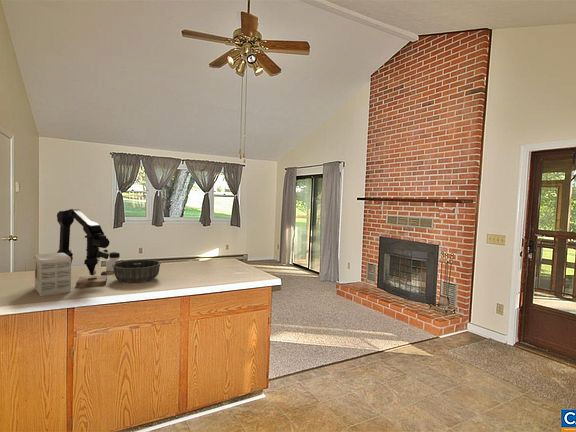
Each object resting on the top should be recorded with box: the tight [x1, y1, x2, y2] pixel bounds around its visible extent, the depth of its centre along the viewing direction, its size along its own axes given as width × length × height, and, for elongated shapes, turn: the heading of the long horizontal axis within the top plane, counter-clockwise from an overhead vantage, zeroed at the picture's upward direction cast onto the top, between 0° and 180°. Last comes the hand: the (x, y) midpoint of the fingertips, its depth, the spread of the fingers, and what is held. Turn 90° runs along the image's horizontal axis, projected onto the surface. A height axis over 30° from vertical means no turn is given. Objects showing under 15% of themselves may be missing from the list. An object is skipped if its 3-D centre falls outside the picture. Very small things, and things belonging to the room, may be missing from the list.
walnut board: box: [75, 274, 108, 288], centre depth 190 cm, size 14×14×2 cm
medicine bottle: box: [105, 251, 124, 273], centre depth 223 cm, size 7×7×12 cm
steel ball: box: [88, 269, 97, 276], centre depth 190 cm, size 4×4×4 cm
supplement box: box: [34, 252, 72, 297], centre depth 174 cm, size 17×13×18 cm
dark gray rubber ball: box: [100, 270, 108, 276], centre depth 205 cm, size 4×4×4 cm
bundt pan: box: [112, 259, 162, 284], centre depth 202 cm, size 26×26×10 cm
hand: (92, 273), depth 190 cm, fingers closed on steel ball, 3 cm apart
